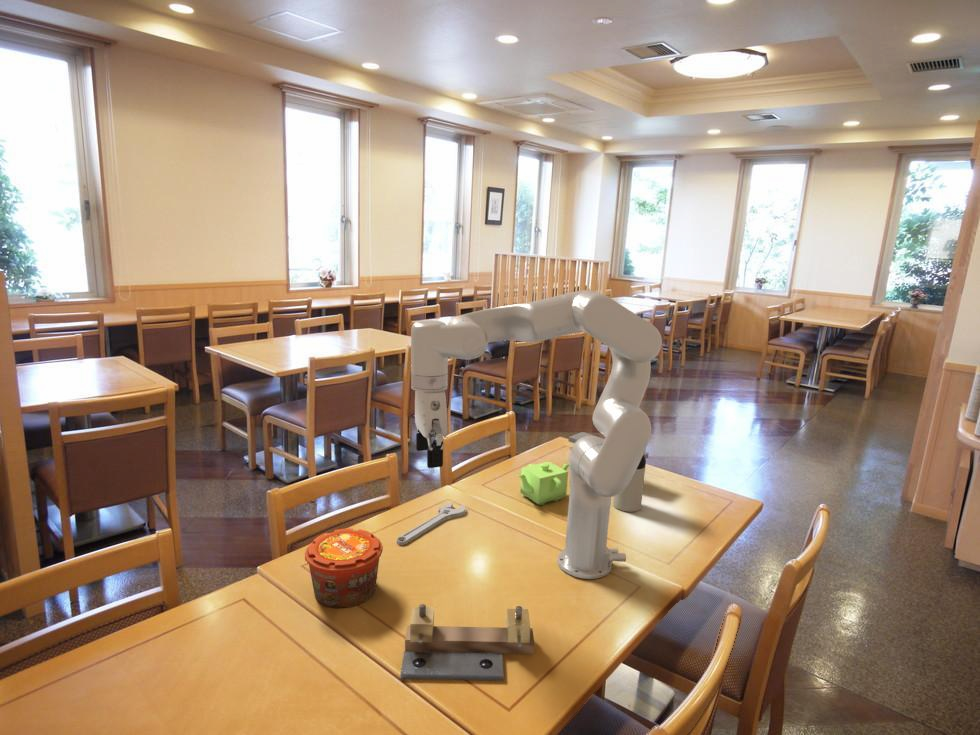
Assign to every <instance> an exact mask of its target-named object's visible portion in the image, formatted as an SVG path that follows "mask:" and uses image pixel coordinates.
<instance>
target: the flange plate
mask: <svg viewBox="0 0 980 735" xmlns="http://www.w3.org/2000/svg"><path fill="white" fill-rule="evenodd" d="M503 661H504V660H503V653H456V652H405V651H403V658H402V662H401V668H400V674H399V675H400V680H405V679H406V680H450V681H452V680H454V681H455V680H456V681H459V680H460V681H466V680H467V681H504V663H503Z"/></svg>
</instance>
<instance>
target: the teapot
mask: <svg viewBox="0 0 980 735" xmlns="http://www.w3.org/2000/svg"><path fill="white" fill-rule="evenodd" d="M567 469H569V462H566V463H564V464H563V466H562V467H560V466H558V465H556V464H555V463H552V462H551V461H545V462H540V463H536V464H534V463H529V464H528V465H527V466H522V467H521V471H520V473H518V474H516V476H517V477H519V478H520V491H519V492H520V494H522V495H523V496H525V497H527V498H528V499H529V500H531V501H532V502H533V503H535V504H536V505H540V506H544V505H545V504H546V503H549V502H552V501H553V502H558V501H559V499H563V498H566V497H567V489H568V479H569V478H568V477H569V472H568V470H567Z"/></svg>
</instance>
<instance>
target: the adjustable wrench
mask: <svg viewBox="0 0 980 735" xmlns="http://www.w3.org/2000/svg"><path fill="white" fill-rule="evenodd" d="M466 511H467V508H466V506H465V505H464V504H461V507H460V508H454V503H450V502H449V503H445V504H444V505H442V506H439V508H438V514H436V515H435V516H432V517H431V518H429V519H428V520H426V521H424V522H422V523H420V524H419V525H417V526H415V527H414V528H412V529H410V530H409V531H406V532H405V533H403V534H401V535H399V536H398V537H396V545H398V546H405V545H407V544H408V542H409V543H410V542H412V541H414V540H415V539H416V538H418V537H420V536H422V535H423V534H425V533H426V532H428V531H430V530H431V529H433V528H434V527H436V526H437V525H439V524H441V523H443V522H444V521H448V520H451V519H453V518H458V517H462V516H464V515H465V514H466ZM402 540H403V541H402ZM411 540H412V541H411Z"/></svg>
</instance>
